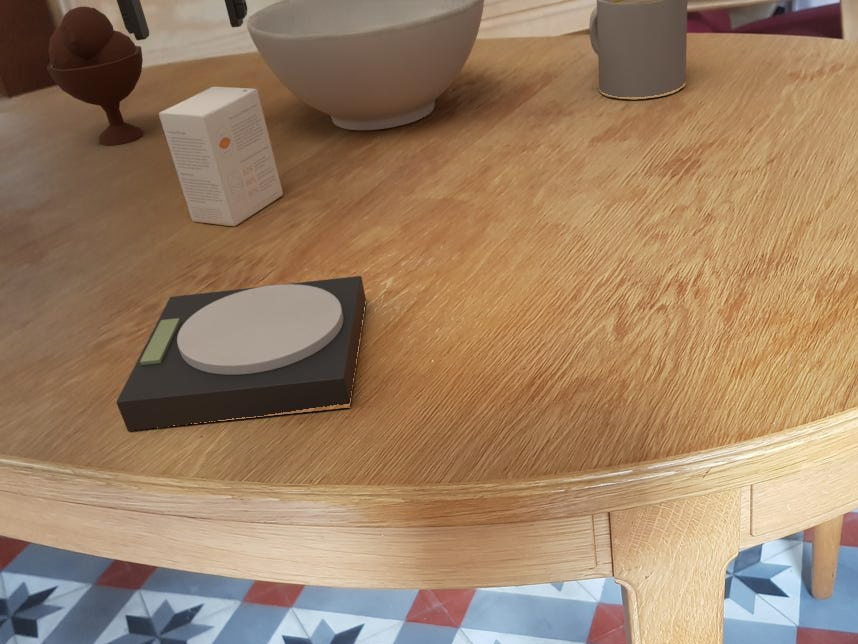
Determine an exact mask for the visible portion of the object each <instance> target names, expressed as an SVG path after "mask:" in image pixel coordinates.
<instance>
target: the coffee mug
mask: <svg viewBox="0 0 858 644" xmlns="http://www.w3.org/2000/svg"><path fill="white" fill-rule="evenodd" d="M588 30H589V31H588V32H589V40H590V43H591V47H592V50H593V51H594V53H595V54H596V55H597V57H598V58H597V59H598V62H597V63H598V90H599V89H600V90H601V92H603V93H605V94H608V95H612V96H617V97H630V98H631V97H645V96H646V97H647V96H654V95H660V94H664V93H667V92H671V91H673V90H676V89H678V88H680V87H681V86H683V84H684V83H685V81H687V38H688V37H687V36H688V0H596V6H595V8H593V10H592V11H591V13H590V16H589V25H588Z"/></svg>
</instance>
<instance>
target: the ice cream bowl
mask: <svg viewBox="0 0 858 644" xmlns="http://www.w3.org/2000/svg"><path fill="white" fill-rule="evenodd" d="M48 43H49V44H48V49H47V50H48V56H49V60H50V62H49V64H48V65H47V67H46V70H47V72H48V74H49V75H50V77H51V78H52V80H53V82H54V83H55V84H56V86H58V87H59V88H60V90H61V91H63V92H65V94H67V95H69V96H71V97H72V98H74V99H76V100H79V101H81V102H83V103H86V104H89V105H94V106H100V107H101V108H102V110H103V111H104V113H105V115H106V118H107V122H108V126H107V127H106V128H105V129H104V130H103V131H102V132H101V134H100V135H99V138H98V144H100V145H104V146H119V145H123V144H127V143H130V142H134V141H136V140H138V139H140V138H141V137H143V136H144V133H145V132H144V130H143V129H142V127H140V126H137V125H134V124H131V123H128V122H126V121H124V118H123V115H122V112H121V110H120V108H121V107H120V106H121V105H120V104H121V102H123V100H125V99H127V98H128V97H129V96H130V94H131V93H132V92H133V91H134V90H135V88H136V86H137V84H138V81H139V80H140V77H141V75H142V71H143V63H144V62H143V60H144V59H143V51H142V46H139V45H136V44H135V42H134V41H133V40H132V39H131V37H130V36H129V35H127V34H125V33H123V32H122V31H118V30H114V25H113V24H112V22H111V21H110V19H109V18H108V16H107V15H106V14H104V13H103V12H101V11H99V9H97V8H95V7H90V6H87V5H85V6H77V7H74V8H71V9H69V10H68V11H67V12H66V13H65V14H64V15H63V18H62V20H61V23H60V24H59V26H58V27H56V29H55V30H54V31H53V33H52V34H51V36H50V37H49V42H48Z"/></svg>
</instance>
